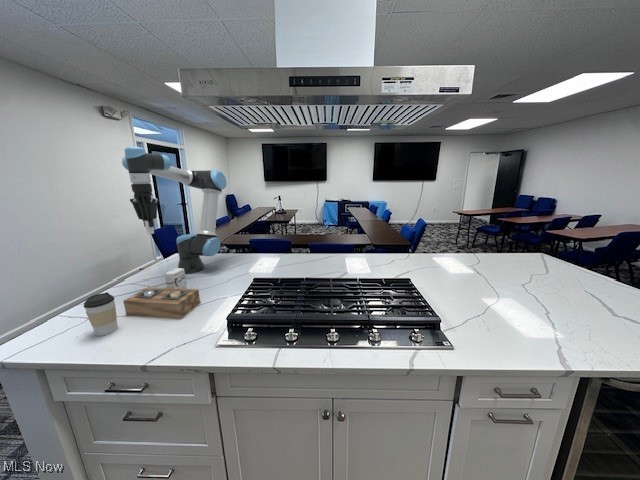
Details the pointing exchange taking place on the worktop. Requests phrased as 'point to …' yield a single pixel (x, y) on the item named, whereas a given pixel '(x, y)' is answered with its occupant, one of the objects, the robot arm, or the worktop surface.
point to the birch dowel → (175, 294)
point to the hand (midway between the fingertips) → (150, 233)
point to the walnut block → (162, 303)
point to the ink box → (176, 278)
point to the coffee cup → (101, 313)
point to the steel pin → (149, 293)
